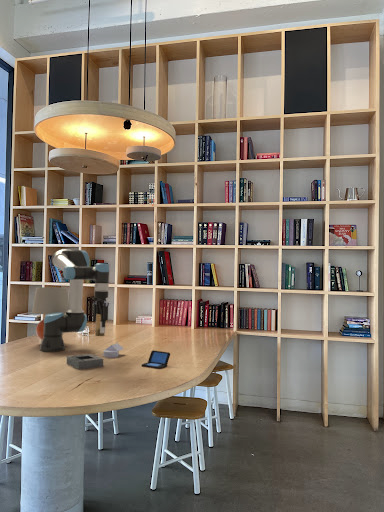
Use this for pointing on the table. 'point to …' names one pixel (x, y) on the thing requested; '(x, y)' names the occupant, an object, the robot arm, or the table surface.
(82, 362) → the jig block
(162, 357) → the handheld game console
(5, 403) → the table surface
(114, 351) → the wedge on round base
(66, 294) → the lamp
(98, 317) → the golden brown cylinder
